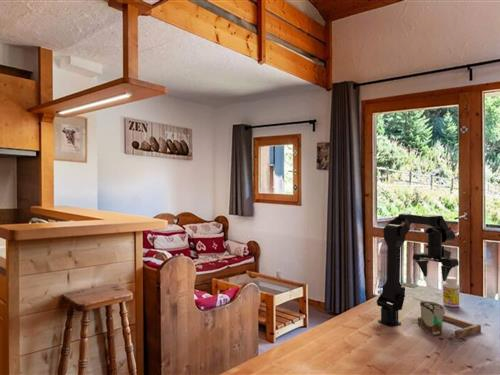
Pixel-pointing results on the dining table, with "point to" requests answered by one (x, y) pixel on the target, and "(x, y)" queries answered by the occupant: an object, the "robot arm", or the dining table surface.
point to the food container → (432, 317)
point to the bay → (462, 332)
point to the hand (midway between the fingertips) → (434, 278)
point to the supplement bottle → (451, 292)
